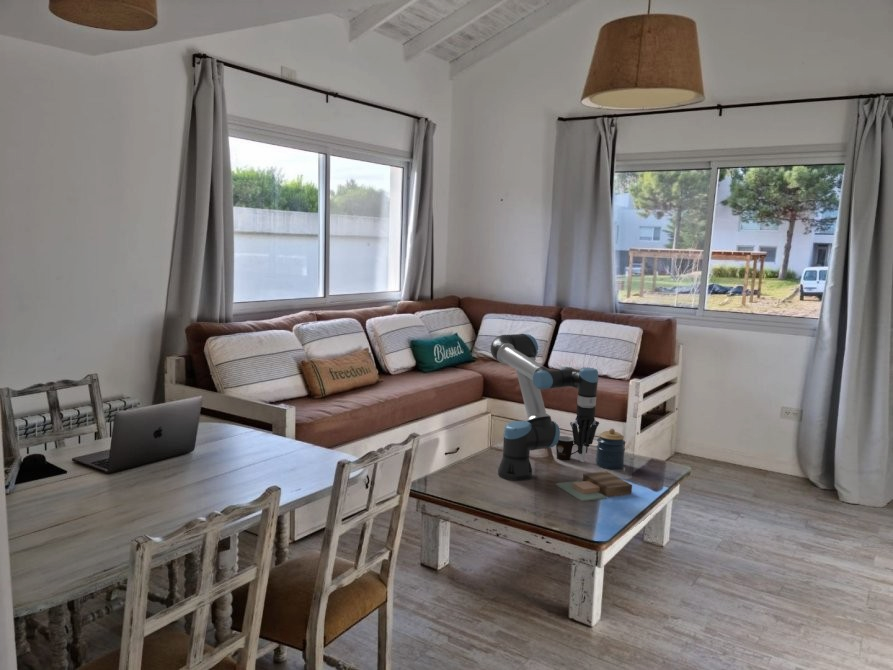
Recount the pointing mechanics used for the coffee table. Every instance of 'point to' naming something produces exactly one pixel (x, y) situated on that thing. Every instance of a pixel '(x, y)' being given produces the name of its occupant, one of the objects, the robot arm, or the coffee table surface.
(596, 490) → the terracotta tile
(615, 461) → the canister
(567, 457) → the coffee mug
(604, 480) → the block
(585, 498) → the sage mat
